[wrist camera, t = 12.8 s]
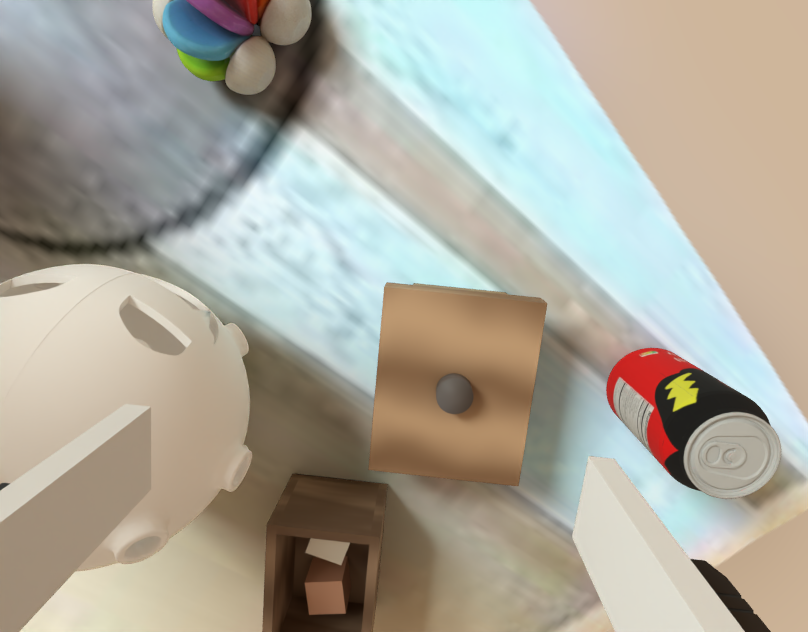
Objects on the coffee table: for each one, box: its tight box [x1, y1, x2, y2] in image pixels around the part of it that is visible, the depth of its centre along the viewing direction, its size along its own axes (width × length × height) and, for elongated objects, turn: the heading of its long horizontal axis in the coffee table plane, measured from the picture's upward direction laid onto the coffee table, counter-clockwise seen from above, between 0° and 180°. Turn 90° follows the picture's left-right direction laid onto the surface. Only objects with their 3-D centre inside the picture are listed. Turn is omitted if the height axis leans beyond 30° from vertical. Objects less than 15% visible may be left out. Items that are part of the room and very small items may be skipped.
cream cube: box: [305, 538, 350, 565], centre depth 41 cm, size 3×3×3 cm
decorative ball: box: [0, 264, 252, 571], centre depth 32 cm, size 20×17×20 cm
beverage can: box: [606, 348, 781, 499], centre depth 34 cm, size 6×6×12 cm
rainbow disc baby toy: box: [152, 0, 311, 95], centre depth 32 cm, size 8×10×7 cm
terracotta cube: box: [305, 556, 351, 615], centre depth 43 cm, size 3×3×3 cm
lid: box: [368, 283, 547, 486], centre depth 35 cm, size 13×10×3 cm
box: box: [262, 474, 388, 632], centre depth 41 cm, size 12×8×7 cm, turn 175°
